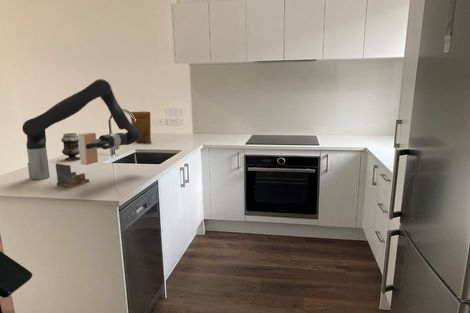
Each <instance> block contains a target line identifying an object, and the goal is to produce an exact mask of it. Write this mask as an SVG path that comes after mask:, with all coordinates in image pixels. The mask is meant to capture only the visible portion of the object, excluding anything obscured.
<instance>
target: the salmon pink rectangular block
mask: <svg viewBox="0 0 470 313" xmlns="http://www.w3.org/2000/svg"><path fill="white" fill-rule="evenodd" d="M77 136H78V140H79V142H78V143H79V150H80V154H79V157H80V159H79V160H80V165H85V166H88V165H92V164H95V163H98V162H99V158H98V148H94V147H93V148H90V149H87V148H86V145H87V144H92V143H96V139H97V133H96V132H84V133H77Z"/></svg>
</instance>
